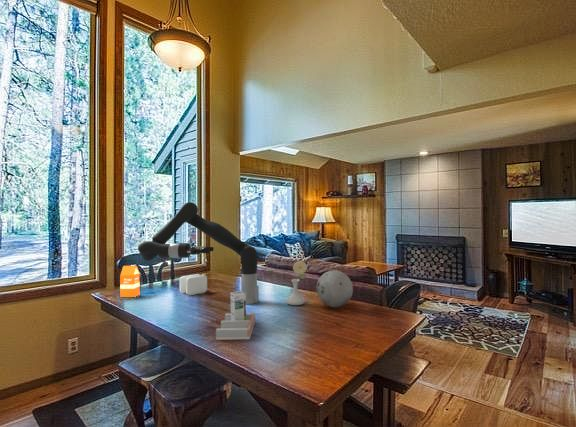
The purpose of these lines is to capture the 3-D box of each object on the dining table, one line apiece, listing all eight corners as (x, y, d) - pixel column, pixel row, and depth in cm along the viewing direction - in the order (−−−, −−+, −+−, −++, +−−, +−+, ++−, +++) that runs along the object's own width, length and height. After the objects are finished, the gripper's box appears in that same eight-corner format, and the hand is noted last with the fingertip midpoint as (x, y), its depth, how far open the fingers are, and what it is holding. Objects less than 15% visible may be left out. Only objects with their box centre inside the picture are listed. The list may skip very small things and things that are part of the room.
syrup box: (234, 326, 144) (233, 294, 144) (230, 322, 149) (230, 291, 149) (246, 324, 147) (245, 293, 147) (242, 320, 152) (241, 290, 152)
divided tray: (215, 339, 132) (215, 330, 132) (226, 321, 154) (225, 313, 154) (249, 339, 132) (249, 329, 132) (254, 321, 154) (254, 313, 154)
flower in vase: (282, 305, 179) (282, 261, 179) (290, 300, 190) (289, 258, 190) (304, 308, 174) (303, 262, 174) (310, 302, 185) (310, 259, 185)
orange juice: (134, 298, 201) (133, 266, 201) (120, 298, 202) (119, 266, 202) (139, 294, 209) (139, 264, 209) (126, 295, 209) (126, 264, 209)
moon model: (360, 306, 176) (359, 270, 176) (339, 314, 162) (338, 275, 162) (331, 299, 190) (330, 266, 190) (309, 307, 176) (308, 270, 176)
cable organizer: (186, 296, 203) (185, 278, 203) (179, 293, 211) (178, 276, 211) (207, 292, 213) (207, 275, 213) (200, 289, 221) (199, 273, 221)
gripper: (174, 244, 155) (207, 243, 155) (184, 241, 169) (214, 241, 169) (174, 259, 155) (208, 259, 155) (184, 256, 169) (214, 255, 169)
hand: (211, 250), depth 162 cm, fingers open, 8 cm apart
